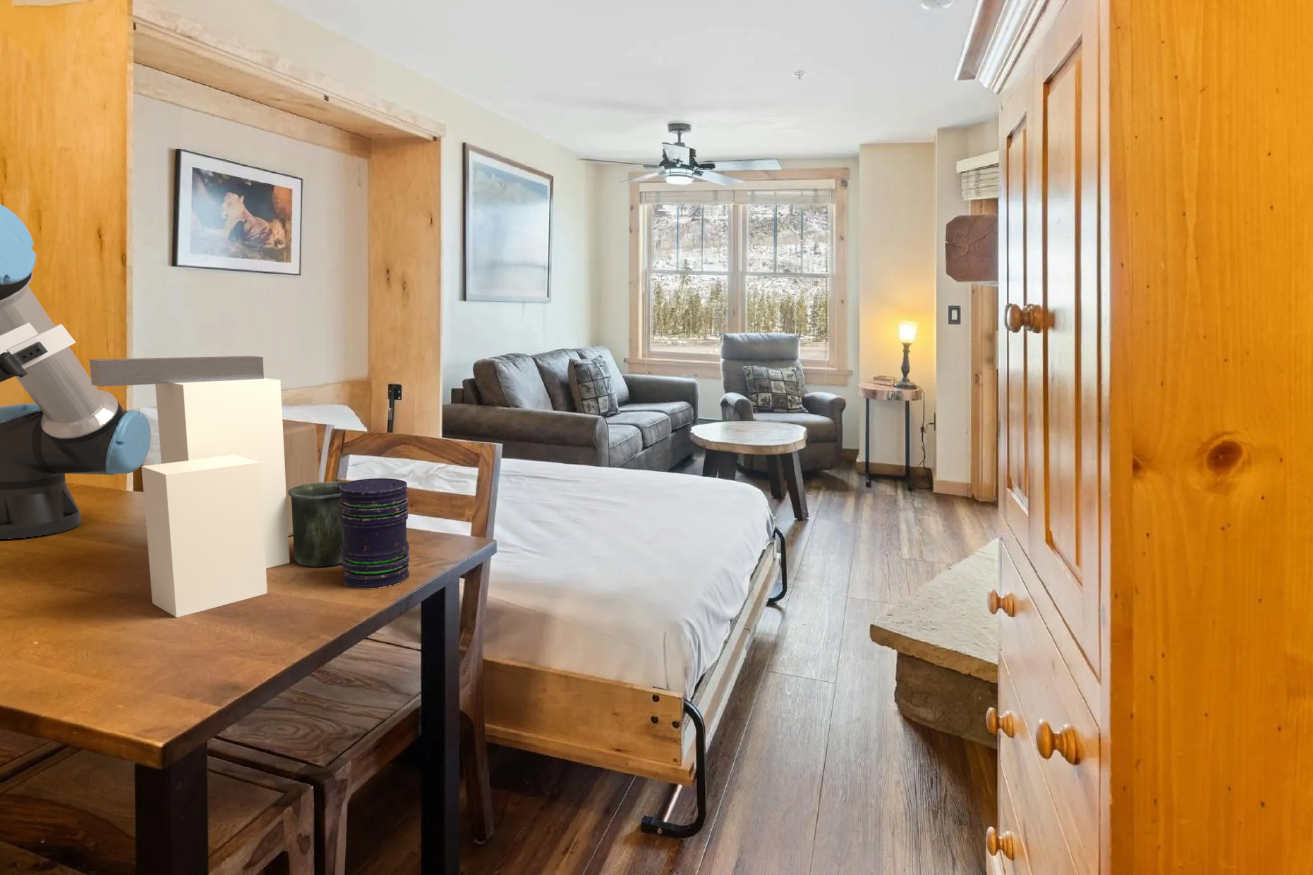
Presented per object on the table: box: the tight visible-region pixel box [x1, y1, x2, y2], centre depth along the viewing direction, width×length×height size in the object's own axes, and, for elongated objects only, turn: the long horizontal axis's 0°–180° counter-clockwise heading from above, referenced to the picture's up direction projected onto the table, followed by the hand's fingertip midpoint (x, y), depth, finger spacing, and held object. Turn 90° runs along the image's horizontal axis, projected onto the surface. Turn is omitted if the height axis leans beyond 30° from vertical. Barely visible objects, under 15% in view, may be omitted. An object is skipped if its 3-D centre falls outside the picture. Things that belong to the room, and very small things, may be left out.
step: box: [141, 455, 268, 619], centre depth 107 cm, size 8×12×20 cm, turn 143°
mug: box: [288, 481, 347, 568], centre depth 128 cm, size 11×15×12 cm
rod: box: [89, 355, 265, 387], centre depth 113 cm, size 4×22×4 cm, turn 143°
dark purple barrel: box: [340, 477, 411, 589], centre depth 117 cm, size 10×10×15 cm
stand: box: [154, 377, 291, 569], centre depth 119 cm, size 10×14×30 cm
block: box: [282, 420, 320, 537], centre depth 142 cm, size 10×10×20 cm
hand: (51, 331), depth 102 cm, fingers open, 13 cm apart
